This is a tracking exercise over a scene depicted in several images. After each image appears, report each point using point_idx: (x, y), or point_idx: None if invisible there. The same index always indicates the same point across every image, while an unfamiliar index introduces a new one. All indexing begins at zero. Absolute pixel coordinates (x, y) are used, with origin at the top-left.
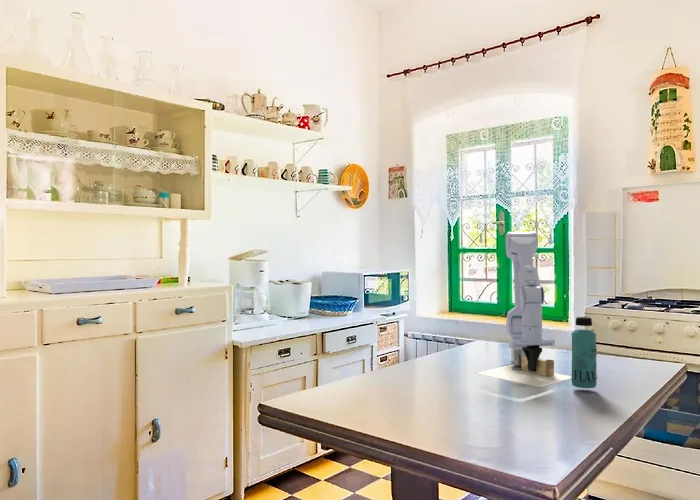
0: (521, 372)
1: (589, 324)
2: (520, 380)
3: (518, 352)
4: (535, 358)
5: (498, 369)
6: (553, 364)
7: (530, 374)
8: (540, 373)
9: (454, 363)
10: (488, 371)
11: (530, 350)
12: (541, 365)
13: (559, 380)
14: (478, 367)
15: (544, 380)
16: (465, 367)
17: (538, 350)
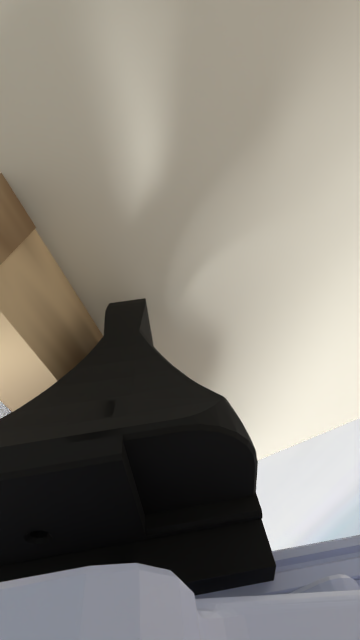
0: (183, 365)
1: None
2: (358, 114)
3: None
4: (118, 359)
5: (274, 436)
6: None
7: (149, 306)
8: (69, 285)
9: (340, 536)
10: (357, 404)
11: (248, 436)
12: (46, 312)
13: None
14: (298, 493)
15: (126, 38)
16: (349, 494)
17: (62, 434)
